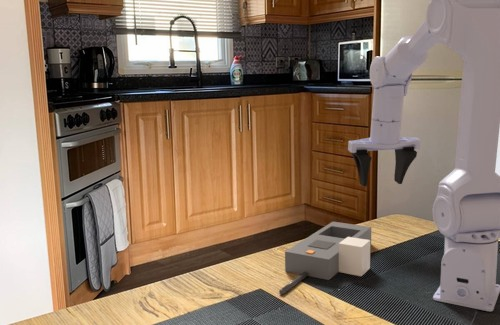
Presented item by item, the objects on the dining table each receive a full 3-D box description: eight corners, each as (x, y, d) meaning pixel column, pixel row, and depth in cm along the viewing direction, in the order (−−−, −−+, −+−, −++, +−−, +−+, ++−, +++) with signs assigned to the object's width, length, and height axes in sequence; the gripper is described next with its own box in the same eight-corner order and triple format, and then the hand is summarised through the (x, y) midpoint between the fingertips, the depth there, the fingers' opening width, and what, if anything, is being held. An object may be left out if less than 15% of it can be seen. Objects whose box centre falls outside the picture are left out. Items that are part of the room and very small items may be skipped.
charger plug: (361, 276, 83) (361, 247, 83) (338, 271, 86) (338, 243, 85) (369, 268, 87) (370, 240, 86) (347, 264, 89) (347, 236, 88)
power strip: (304, 300, 75) (304, 277, 74) (258, 290, 79) (257, 267, 79) (371, 244, 99) (371, 225, 98) (332, 238, 103) (332, 220, 103)
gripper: (410, 112, 105) (404, 174, 110) (344, 115, 103) (340, 179, 107) (428, 120, 99) (420, 186, 103) (357, 124, 96) (352, 191, 101)
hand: (380, 183), depth 105 cm, fingers open, 7 cm apart
